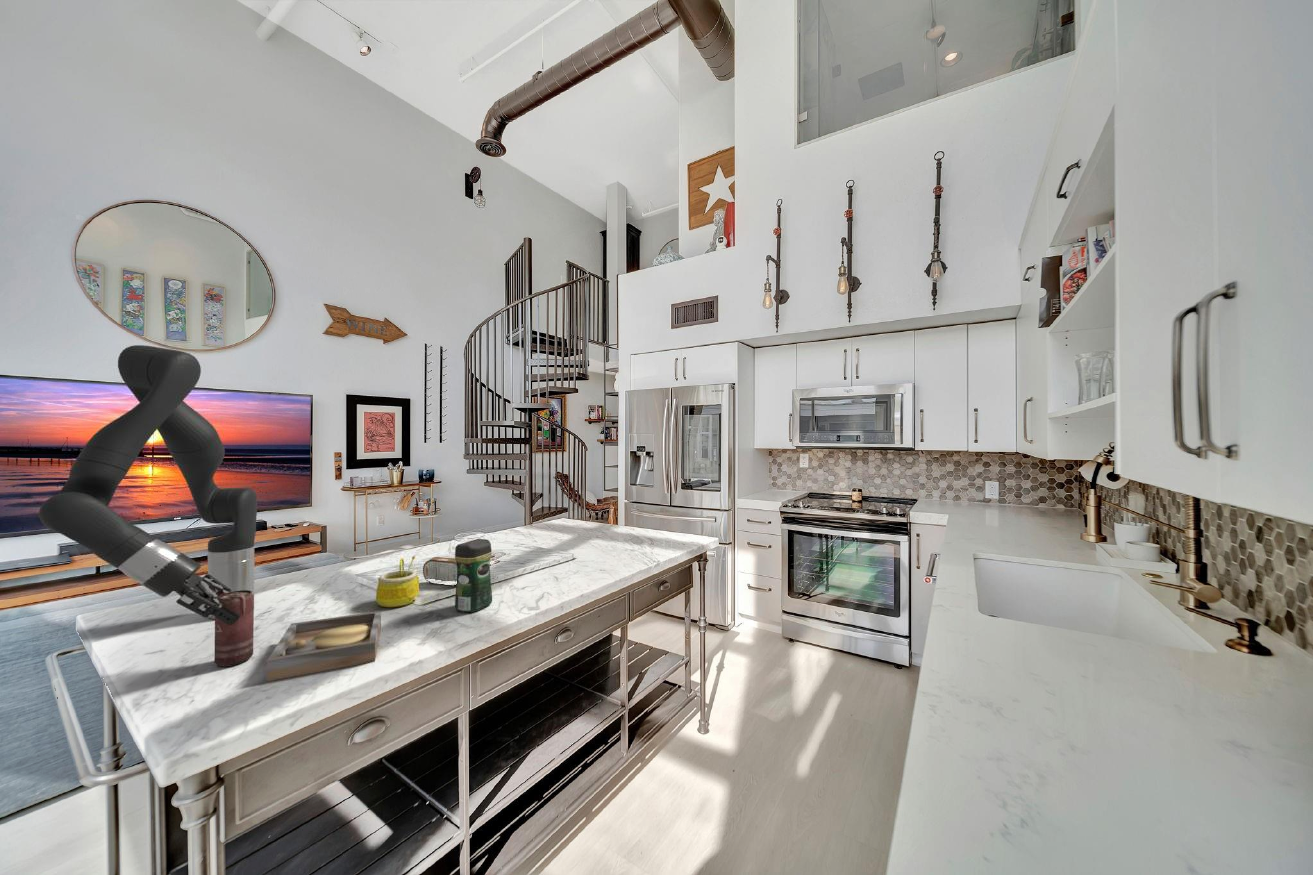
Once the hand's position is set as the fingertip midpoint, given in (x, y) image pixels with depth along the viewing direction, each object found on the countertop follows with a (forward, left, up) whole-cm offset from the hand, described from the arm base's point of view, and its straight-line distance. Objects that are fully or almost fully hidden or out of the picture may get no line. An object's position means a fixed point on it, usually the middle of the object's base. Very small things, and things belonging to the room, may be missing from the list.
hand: (239, 615), depth 99 cm
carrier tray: (+3, +17, -10) cm, 19 cm away
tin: (-36, +42, -10) cm, 56 cm away
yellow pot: (-25, +30, -10) cm, 40 cm away
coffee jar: (-11, +48, -10) cm, 50 cm away
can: (0, -1, -9) cm, 9 cm away
